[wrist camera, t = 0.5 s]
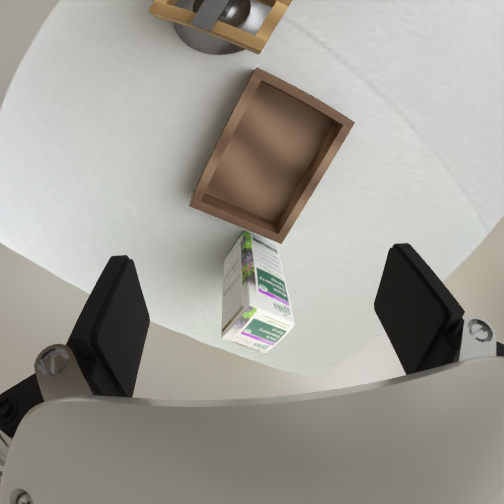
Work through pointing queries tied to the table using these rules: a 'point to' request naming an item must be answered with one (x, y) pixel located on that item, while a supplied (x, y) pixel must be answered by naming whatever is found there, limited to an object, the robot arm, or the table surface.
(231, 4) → the door handle
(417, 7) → the table surface
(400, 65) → the table surface
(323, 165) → the tray
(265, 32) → the light wooden frame
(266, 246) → the syrup box
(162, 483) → the robot arm
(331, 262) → the table surface
